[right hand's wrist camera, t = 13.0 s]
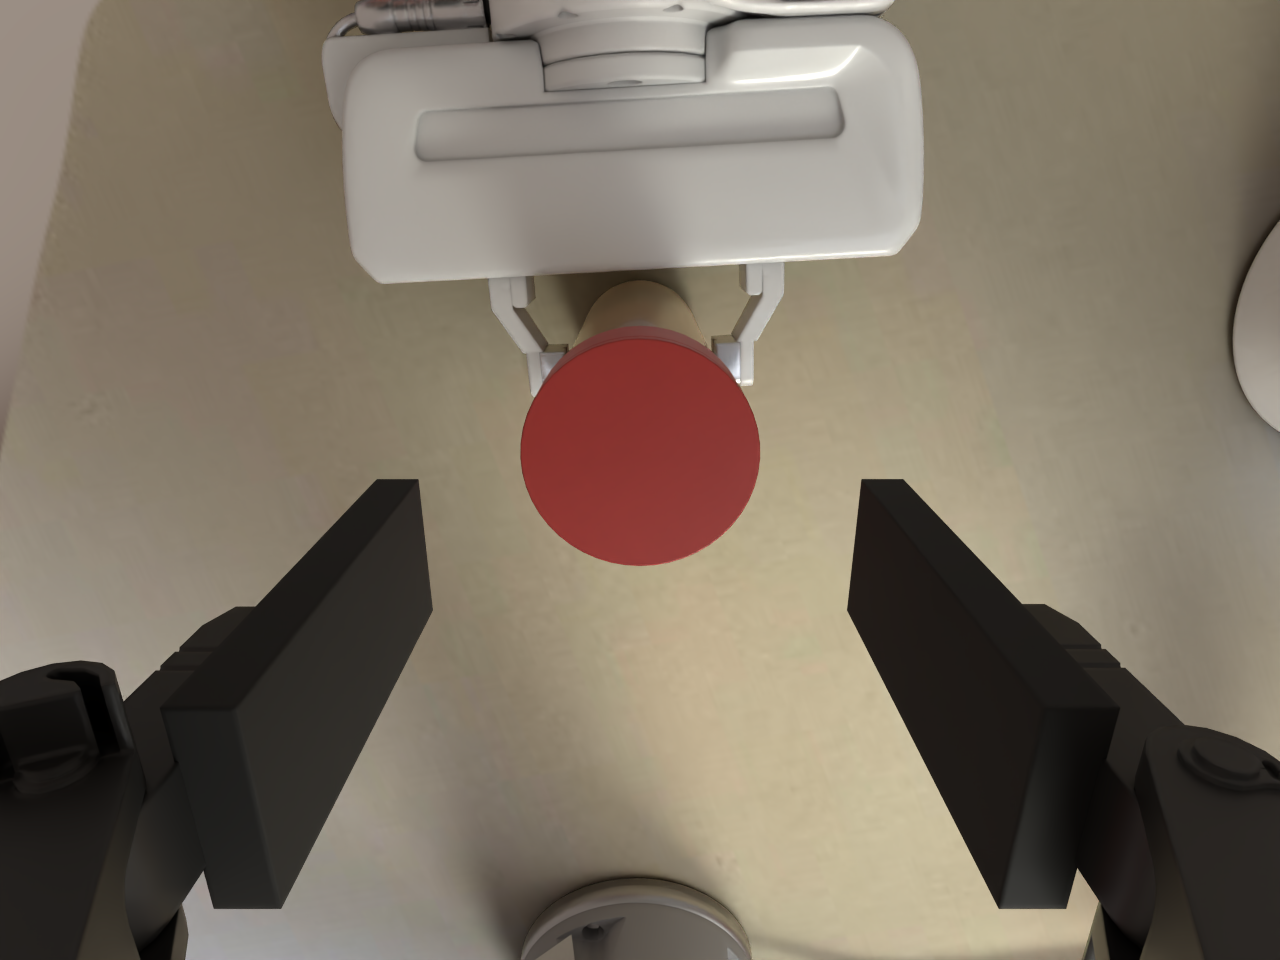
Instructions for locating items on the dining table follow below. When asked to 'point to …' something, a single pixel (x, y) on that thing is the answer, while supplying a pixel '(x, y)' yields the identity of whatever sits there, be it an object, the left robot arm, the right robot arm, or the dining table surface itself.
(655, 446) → the lid
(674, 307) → the jar
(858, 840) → the dining table surface
